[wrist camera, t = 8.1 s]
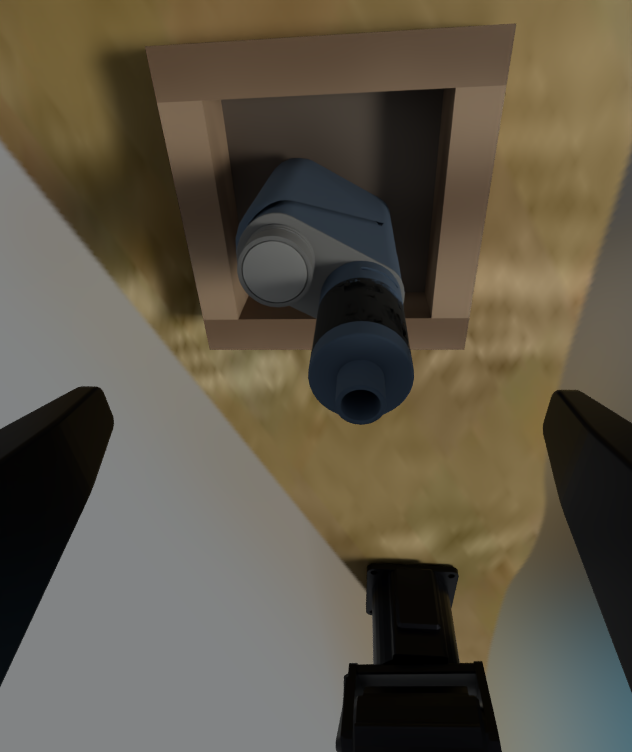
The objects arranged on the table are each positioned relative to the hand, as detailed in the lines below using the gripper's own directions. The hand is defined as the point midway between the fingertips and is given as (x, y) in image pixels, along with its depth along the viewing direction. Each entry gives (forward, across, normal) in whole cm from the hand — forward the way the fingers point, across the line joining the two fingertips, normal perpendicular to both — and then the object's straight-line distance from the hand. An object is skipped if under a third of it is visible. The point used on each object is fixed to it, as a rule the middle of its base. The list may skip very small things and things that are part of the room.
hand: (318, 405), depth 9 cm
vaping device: (+12, 0, 0) cm, 12 cm away
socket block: (+13, 0, -1) cm, 13 cm away
